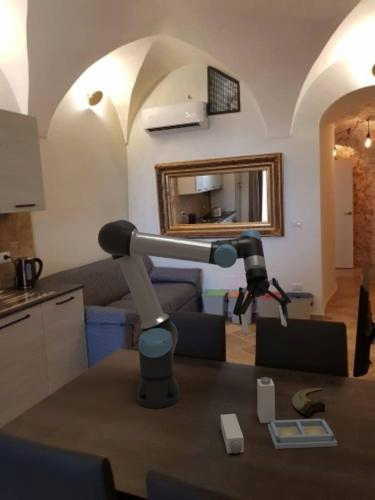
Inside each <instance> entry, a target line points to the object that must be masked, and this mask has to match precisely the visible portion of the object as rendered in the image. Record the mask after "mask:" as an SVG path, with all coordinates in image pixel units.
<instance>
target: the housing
mask: <svg viewBox="0 0 375 500" xmlns="http://www.w3.org/2000/svg"><path fill="white" fill-rule="evenodd" d="M267 429H268V432H269V434H270V437H271V439H272V443H273V445H274V448H275V450H277V449H300V448H301V449H302V448H304V449H305V448H325V447H326V448H327V447H338V441H337V439H336V437H335V435H334V432H333V431H332V429H331V427H330V426H329V425H328V423H327V421H326V420H325V418H307V419H306V418H304V419H302V418H301V419H282V420H281V419H280V420H279V419H277V420H276V419H275V421H270V423H267Z"/></svg>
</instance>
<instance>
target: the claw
mask: <svg viewBox="0 0 375 500" xmlns="http://www.w3.org/2000/svg"><path fill="white" fill-rule="evenodd" d="M320 390H321V391H322V388H321V387H316V388H315V387H313V388H305V389H302V390H299V391H297V392H296V393H295V394H294V395H293V396H292V398H291V404H292V405H293V407H294V408H295V409H296V410H297V412H299V413H301V414H302V415H304V416H306V417H307V418H308V417H310V416H311V414H313V413H315V412H325V410H326V404H325V402H323V401H322V400H314V399H310V398H307V396H306V395H308V394H309V393H313V392H317V391H320Z"/></svg>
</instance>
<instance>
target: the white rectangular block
mask: <svg viewBox="0 0 375 500" xmlns="http://www.w3.org/2000/svg"><path fill="white" fill-rule="evenodd" d="M220 429H221V433H222V436H223V437H222V438H223V441H224V444H225V449H226V452H227V454H239V453H244V452H245V447H244V446H245V445H244V443H245V441H244V435H243V432H242V430H241V427H240V424H239V420H238V417H237V415H236V413H228V414H226V413H225V414H220Z"/></svg>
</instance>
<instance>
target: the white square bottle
mask: <svg viewBox="0 0 375 500" xmlns="http://www.w3.org/2000/svg"><path fill="white" fill-rule="evenodd" d="M256 384H257V385H256V388H257V389H256V390H257V391H256V392H257V394H256V395H257V399H256V400H257V418H258V419H259V422H260V424H266V423H267V424H270V421H275V420H276V408H275V407H276V405H275V404H276V400H275V399H276V397H275V394H276V392H275V390H276V389H275V384H274V382H273V379H272V378H270V377H267V376H263V377H261V378H258V379H257V378H256Z"/></svg>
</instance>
